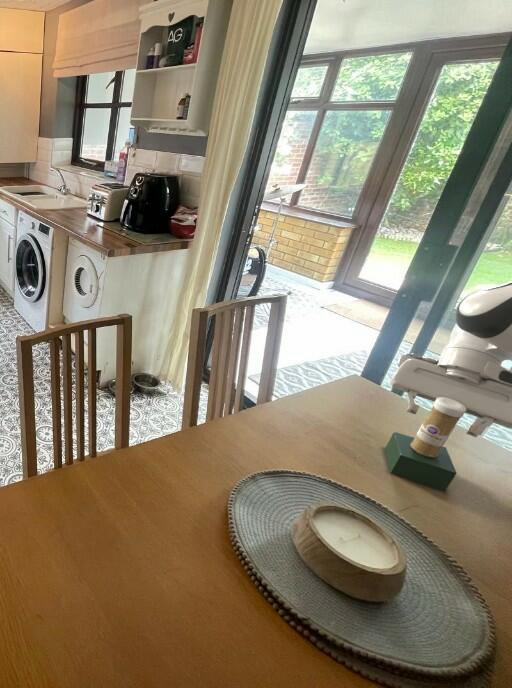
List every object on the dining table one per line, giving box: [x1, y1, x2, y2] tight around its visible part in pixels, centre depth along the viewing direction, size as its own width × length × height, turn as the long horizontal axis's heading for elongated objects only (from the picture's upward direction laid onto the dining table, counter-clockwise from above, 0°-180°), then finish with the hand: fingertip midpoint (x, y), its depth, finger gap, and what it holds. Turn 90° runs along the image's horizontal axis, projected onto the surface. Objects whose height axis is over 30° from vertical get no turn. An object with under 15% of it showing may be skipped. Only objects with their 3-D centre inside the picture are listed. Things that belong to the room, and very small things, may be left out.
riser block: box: [384, 431, 457, 492], centre depth 93 cm, size 9×9×6 cm
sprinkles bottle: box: [411, 397, 466, 457], centre depth 89 cm, size 5×5×14 cm
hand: (440, 423), depth 89 cm, fingers open, 8 cm apart
